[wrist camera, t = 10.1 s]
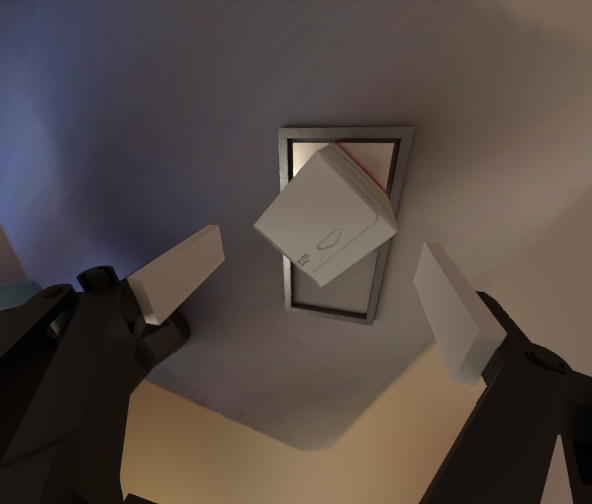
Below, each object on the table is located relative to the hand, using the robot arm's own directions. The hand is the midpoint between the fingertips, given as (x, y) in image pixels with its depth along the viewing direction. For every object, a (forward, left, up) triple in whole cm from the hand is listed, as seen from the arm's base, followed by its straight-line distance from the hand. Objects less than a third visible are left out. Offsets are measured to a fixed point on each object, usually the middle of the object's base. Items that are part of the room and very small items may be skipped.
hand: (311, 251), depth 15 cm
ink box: (0, 0, -15) cm, 15 cm away
